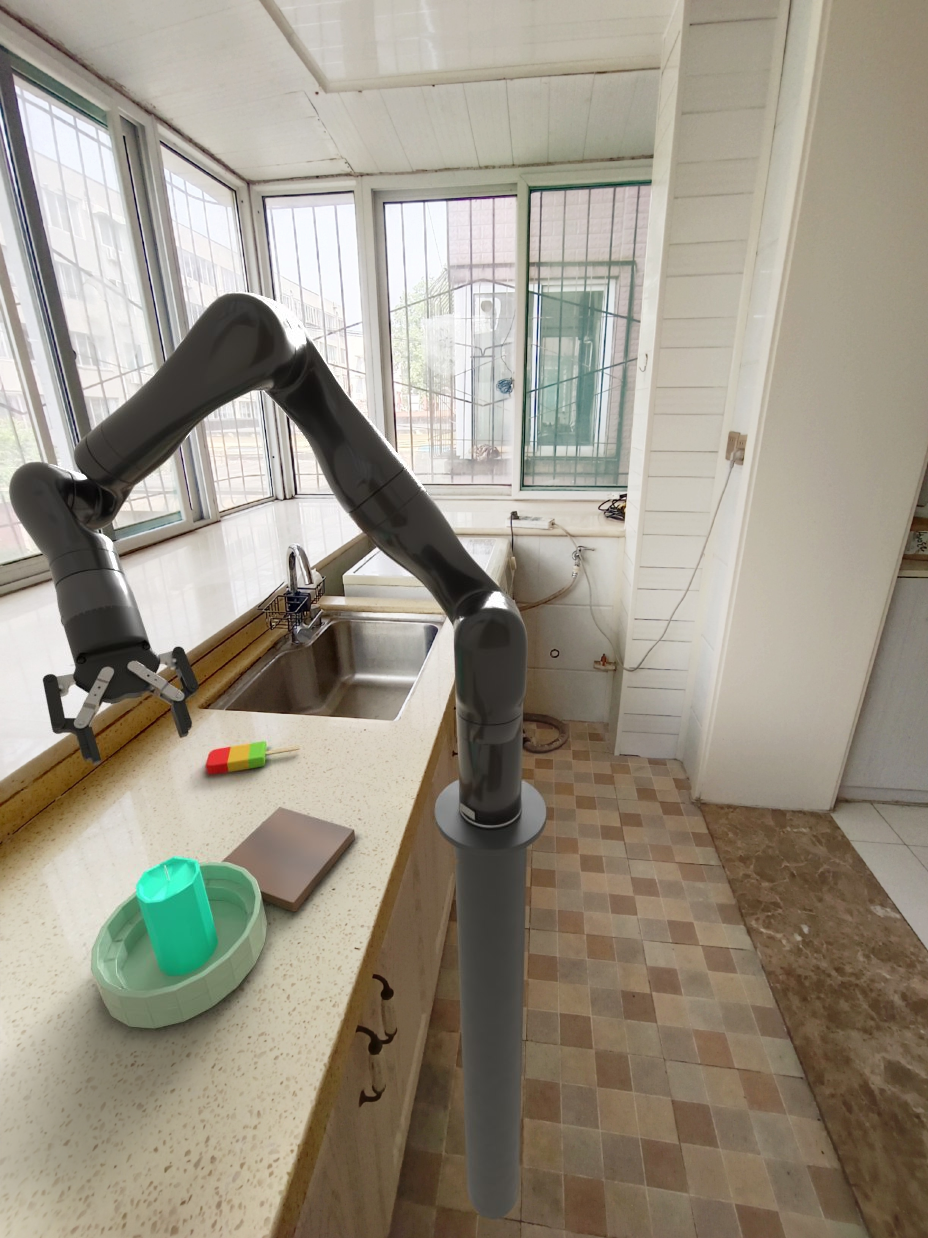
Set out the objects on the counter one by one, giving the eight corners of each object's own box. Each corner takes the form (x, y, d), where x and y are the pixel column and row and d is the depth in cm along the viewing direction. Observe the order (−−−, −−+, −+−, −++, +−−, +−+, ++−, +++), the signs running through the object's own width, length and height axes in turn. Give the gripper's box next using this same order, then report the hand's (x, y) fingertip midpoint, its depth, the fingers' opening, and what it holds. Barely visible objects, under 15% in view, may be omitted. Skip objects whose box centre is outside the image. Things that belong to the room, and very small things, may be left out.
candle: (227, 949, 59) (206, 865, 55) (169, 988, 56) (141, 901, 51) (205, 916, 63) (184, 835, 59) (150, 950, 59) (123, 867, 55)
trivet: (281, 814, 80) (279, 806, 80) (355, 837, 75) (354, 829, 75) (212, 881, 69) (210, 872, 68) (294, 913, 64) (293, 903, 64)
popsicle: (211, 758, 94) (209, 748, 93) (300, 743, 98) (299, 734, 97) (205, 777, 89) (203, 767, 88) (300, 761, 93) (298, 752, 92)
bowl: (194, 877, 70) (186, 847, 68) (296, 917, 64) (291, 885, 62) (67, 995, 56) (53, 961, 54) (183, 1060, 50) (171, 1024, 48)
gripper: (21, 617, 55) (63, 766, 52) (172, 593, 64) (216, 718, 61) (28, 644, 61) (65, 780, 58) (166, 618, 70) (205, 735, 67)
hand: (143, 748), depth 59 cm, fingers open, 8 cm apart
